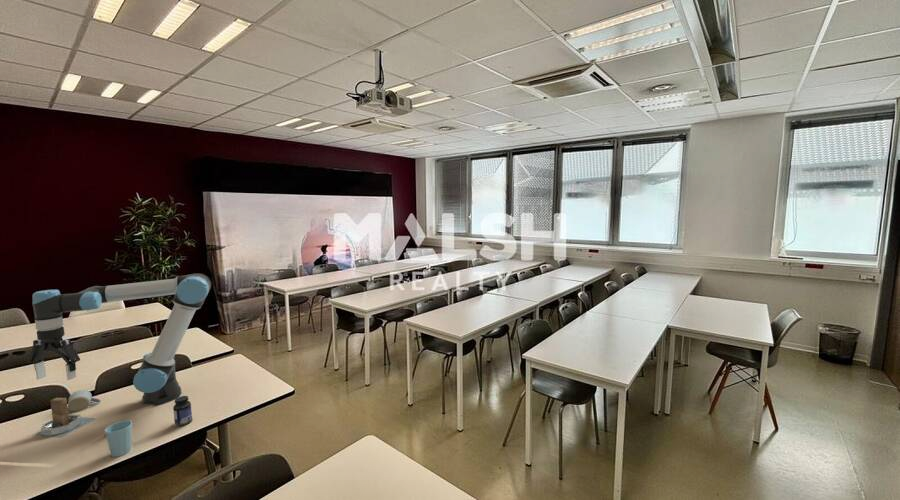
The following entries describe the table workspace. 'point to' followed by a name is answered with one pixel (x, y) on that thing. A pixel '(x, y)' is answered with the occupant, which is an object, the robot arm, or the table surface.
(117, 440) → the cup
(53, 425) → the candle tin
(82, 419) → the slate board
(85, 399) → the ceramic mug
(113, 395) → the table surface
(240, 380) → the table surface
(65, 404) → the brown wooden block
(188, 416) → the pill bottle
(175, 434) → the table surface
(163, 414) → the table surface
